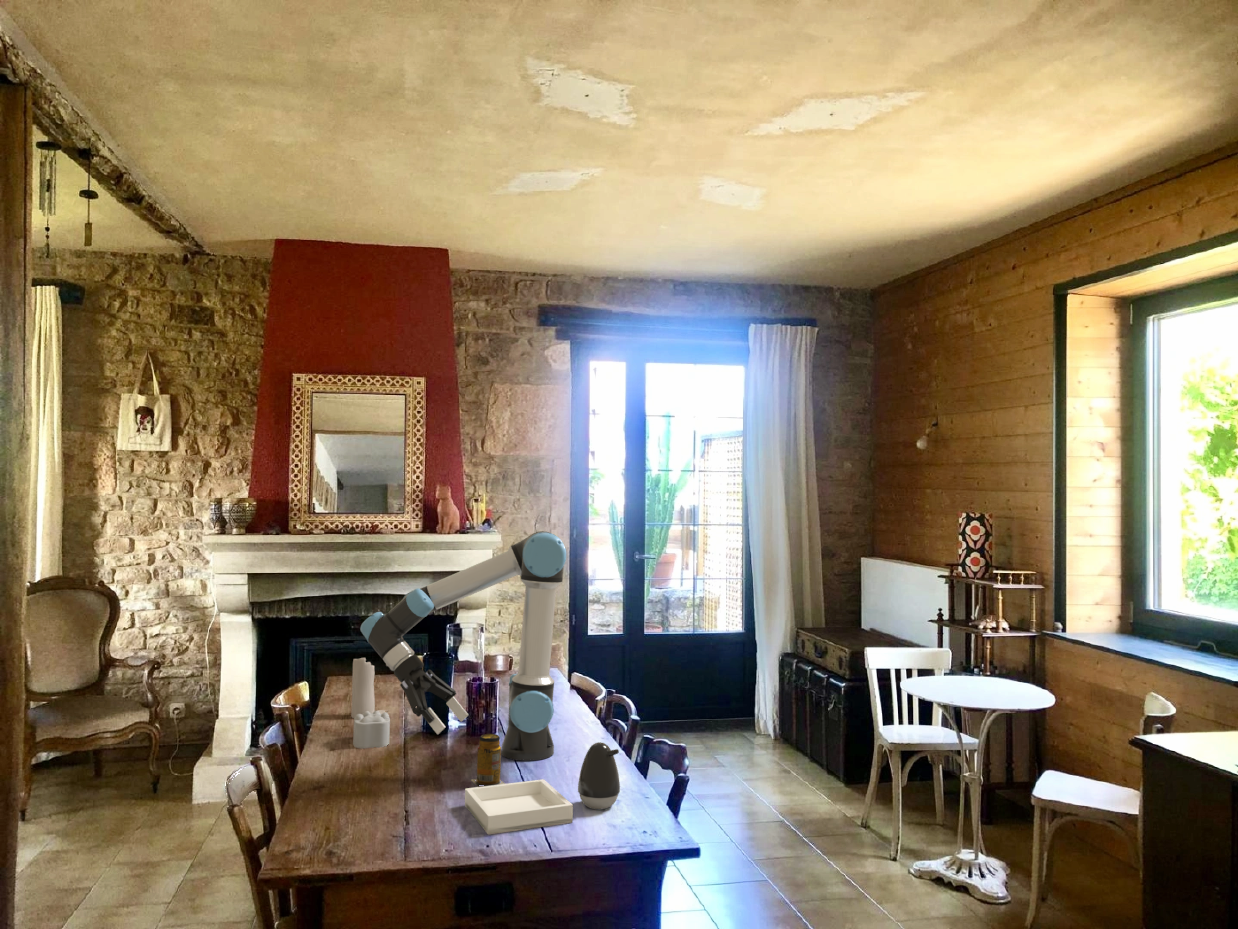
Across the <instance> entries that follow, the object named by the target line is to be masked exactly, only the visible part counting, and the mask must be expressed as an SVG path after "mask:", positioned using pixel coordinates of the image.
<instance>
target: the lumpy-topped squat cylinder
mask: <svg viewBox="0 0 1238 929" xmlns="http://www.w3.org/2000/svg"><path fill="white" fill-rule="evenodd" d="M390 725H391V717H390V715H389V713H388V712H385V713H382V714H380V712H379V711H377V710H375V711H374V712H373V713H370V712H369V711H366V712H364V713H363V714H357V715H356V716H355V718H353V734H352V736H353V738H352V739H353V741H352V745H353V746H354V747H355V748H356V749H372V748H373V749H374V747H376V748H384V746H385V747H387V745H388V744H389V745H390V735H391V734H390V728H391V726H390ZM389 745H388V746H389Z"/></svg>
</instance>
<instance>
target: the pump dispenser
mask: <svg viewBox="0 0 1238 929" xmlns="http://www.w3.org/2000/svg"><path fill="white" fill-rule="evenodd" d="M619 752H620V750H619V749H617V748H616V749H611V748H610V746H609V745H608V744H606V743H605V742H594V743H593V744H591V746H590V747H589V748H588V750H587V751H586V754H585V756H584V759H583V761H582V764H581V769H580V772H579V777H578V784H577V785H578V786H577V792H578V795H579V797H580V800H581V802H582V804H584V805H585V806H586V807H587V808H589V809H592V810H597V809H601V810H606V809H608V808H610V807H612V806H613V805H614V804H615V802H616V801H617V799H618V797H619V794H620V792H621V784H620V775H619V770H618V765H617V762H616V759H615V755H618V754H619Z"/></svg>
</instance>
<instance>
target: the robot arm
mask: <svg viewBox="0 0 1238 929" xmlns="http://www.w3.org/2000/svg"><path fill="white" fill-rule="evenodd" d="M566 561H567V549H566V546H565V544H564V542H563V541H562V539H561V538H560V537H559V536H557V535H555V534H554V533H551V532H549V531H543V530H542V531H536V532H533V533H532V534H530V535H529V536H526V537H525V538H524V539H522V540H520V541H518V542H516V543H514V544H512V545H509V547H508V549H507V551H505V552H502V553H500V554H498V555H496V556H495V555H494V556H492V557H490V558H487V559H486V560H483V561H481V562H478V563H476V564H475V565H472V566H469V567H467V568H464V569H462V570H460V571H458V572H456V573H453V574H451V575H448V576H446V577H444V578H441V579H439V580H437V581H434V582H432V583H430V584H427V585H426V586H423V587H420V588H415V589H414V590H411V591H410V592H407V593H406V594H405V595H404V596H403V598H402V599H401V601H399V602H398V603H397V604H396V605H395V606H393V607H392V608H391V609H390V611H388V612H387V613H385V614H384V613H383V612H382V611H377V612H374V613H373V614H371V615H370V616H369V617H367V618H366V619H365V620H364V621H363V622H362V623H361V625H360V628H359V629H360V632H361V634H362V635H363V636H364V638H365V639H366V641H367V642H368V644H369V645H370V646H371V648H373V649H374V651H375V652H376V653H377V654H378V656H379V657H380V658H381V660H383V662H384V663H385V666H386V667H388V668H389V670H390V671H392V672H393V675H394V676H395V677H396V679H397V680H398V681H399V682H400V684H399V686H400V687H401V689H402V691H404V694H405V697H406V698H407V701H408V705H409V706H410V708H411V711H412V713H413V715H415V716H416V717H418V718H419V717H421V716H422V717H423V719H424V720H425V721H426V722H427V724H429V726H430V727H431V728H432V730H433V731H434V733H436V735H439V734H441V733H442V731H444V730H445V728H446V725H445V724H444V723H443V722H442V720H441V719H440V718H439V716H438V715H437V714H436V713H435V712H434V710H433V709H432V708H431V707H428V704H427V700H426V694H425V692H427V693H429V692H430V693H432V694H434V695H435V696H437V697H439V698H440V699H441V700H444V701H445V702H446V703H445V704H446V706H448V708H449V709H450V710H451V712H452V713H453V715H455V717H456V718H457V719H458V720H459V722H460V723H461V722H463V721H465V719H466V718H467V717H468V716H469V713H468V712H467V711H466V709H465V708H464V707H463V706H462V705H461V704H460V702H459V700H457V699H456V697H455V696H456V695H457V691H456V690H455V689H454V688H452V687H451V686H450V685H449V684H447V683H446V682H445V681H444V680H442V679H441V678H439V677H438V676H437V675H436V674H435V673H434V672H433V671H432V670H431V669H428V670H427V671H426V672H425V671H424V670H423V668H424V665H425V664H424V662H423V661H422V660H421V659H420V657H419V656H418V655H417V654H415V651H414V650H413V648H412V647H410V645H409V644H408V642H406V640H405V639H404V638H403V636H405V635H406V634H407V633H408V632H409V631H410V630H411V629H413V627H415V626H416V625H417V624H418V623H420V622H421V621H422V620H423V619H424V618H425V617H427V616H428V615H429V614H431V613H433V612H435V611H437V610H440V609H442V608H443V607H447V606H448V605H451V604H454V603H456V602H457V601H460V600H462V599H465V598H467V597H469V596H472V595H474V594H477V593H478V592H482V591H484V590H486V589H489V588H490V587H491V588H492V587H493V586H495V585H498V584H500V583H502V582H504V581H507V580H509V579H512V578H515V577H517V576H520V581H521V583H522V584H523V585H524V586H525V588H524V601H523V614H522V626H521V636H520V648H519V659H518V660H519V661H518V672H517V673H513V674H511V675H510V676H509V680H508V681H509V682H508V686H509V688H508V722H507V723H508V724H507V729H506V732H505V735H504V737H503V741H502V744H501V756H502V757H504V758H507V759H510V760H514V761H539V760H545V759H548V758H550V757H552V756H553V755H554V753H555V752H554V751H555V745H554V742H553V737H552V734H551V731H550V727H549V724H550V723H551V721H552V719H553V716H554V713H555V711H554V710H555V708H554V703H553V700H554V688H555V680H554V679H553V677H552V676H551V675H550V673H551V672H550V669H551V658H552V648H553V647H552V645H553V634H554V632H553V631H554V624H555V623H554V621H555V609H556V598H557V596H556V595H557V589H558V587H560V586H561V585H562V584H563V580H564V567H565V564H566ZM551 755H552V756H551Z"/></svg>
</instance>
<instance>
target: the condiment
mask: <svg viewBox="0 0 1238 929" xmlns="http://www.w3.org/2000/svg"><path fill="white" fill-rule="evenodd" d="M500 739H501V738H500V735H498V734H494V733H486V734H485V733H484V734H481V735H480V736H479V742H478V744H479V745H478V747H477V756H476V757H477V758H476V759H477V762H476V764H477V765H476V778H472V779H470V781H471V782H472V783H473V784H474V785H475V786H476V787H483V786H479V785H484V786H492V785H500V784H506V783H505V781H502V780H501V766H502V765H501V759H502V758H501V757H502V746H500V743H501V741H500ZM475 780H476V781H475ZM500 781H501V783H500Z"/></svg>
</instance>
